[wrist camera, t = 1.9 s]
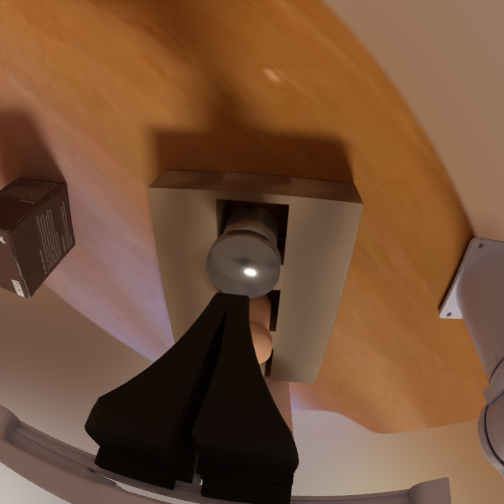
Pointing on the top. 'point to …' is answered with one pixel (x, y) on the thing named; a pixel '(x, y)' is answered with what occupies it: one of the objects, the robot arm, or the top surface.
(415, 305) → the top surface
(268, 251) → the plug metal
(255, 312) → the plug terracotta
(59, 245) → the box
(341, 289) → the socket board
